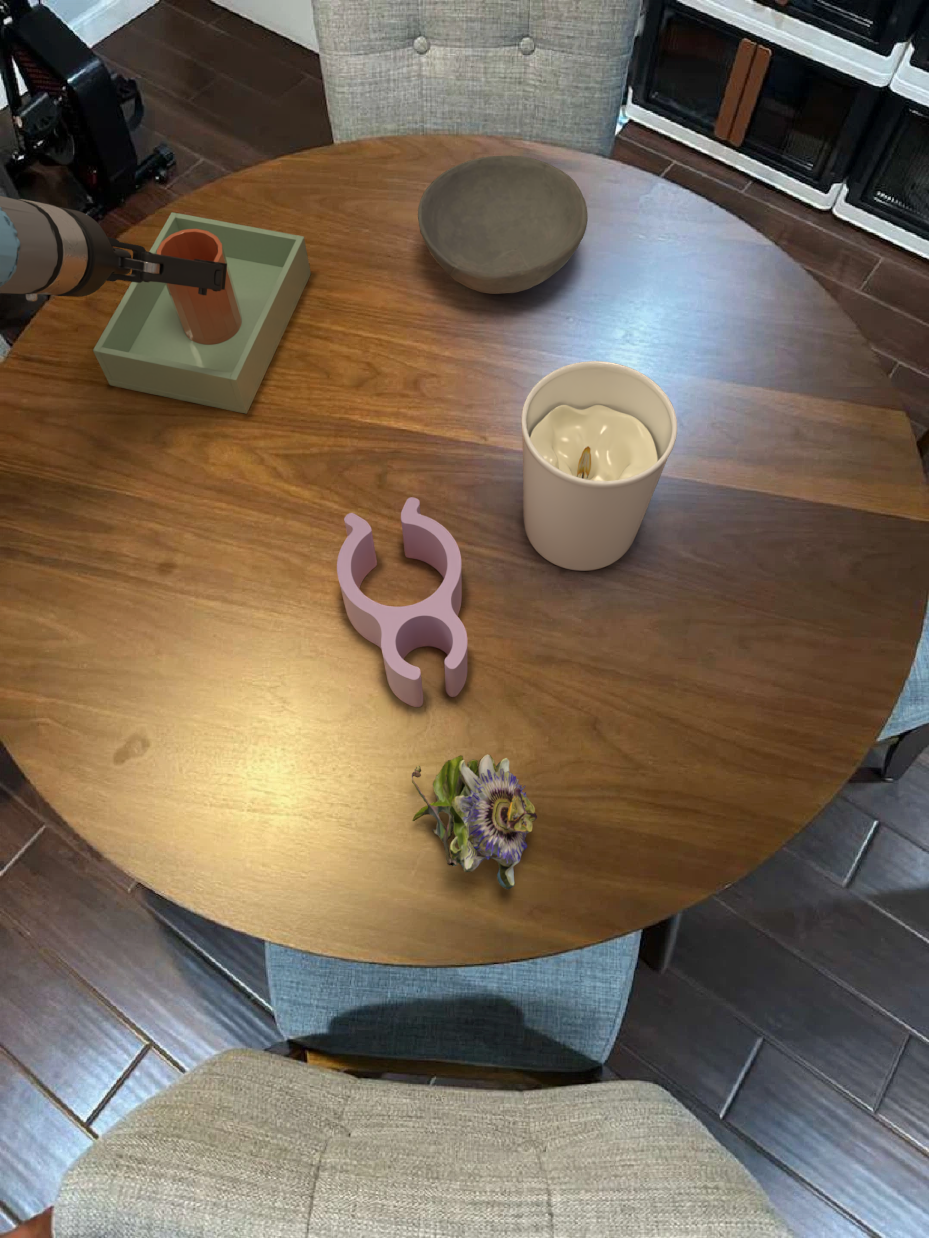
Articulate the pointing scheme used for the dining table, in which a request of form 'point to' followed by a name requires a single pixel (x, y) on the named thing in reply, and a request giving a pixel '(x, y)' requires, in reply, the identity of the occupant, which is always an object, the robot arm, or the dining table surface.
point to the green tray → (204, 374)
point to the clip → (415, 622)
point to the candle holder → (592, 460)
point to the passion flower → (481, 814)
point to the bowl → (502, 222)
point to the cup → (196, 312)
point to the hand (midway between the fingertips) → (164, 265)
